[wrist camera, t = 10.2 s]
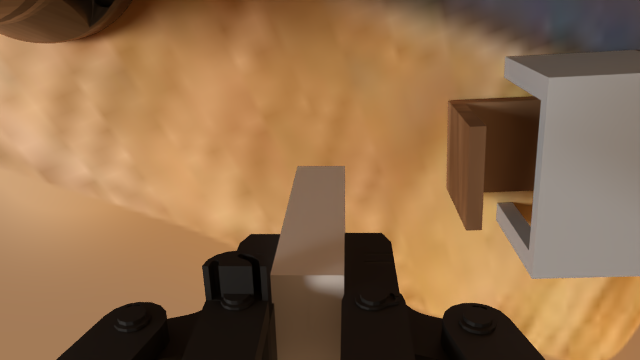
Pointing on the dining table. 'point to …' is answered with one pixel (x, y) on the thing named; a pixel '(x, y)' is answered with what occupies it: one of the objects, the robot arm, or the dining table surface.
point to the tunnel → (581, 166)
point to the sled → (490, 151)
